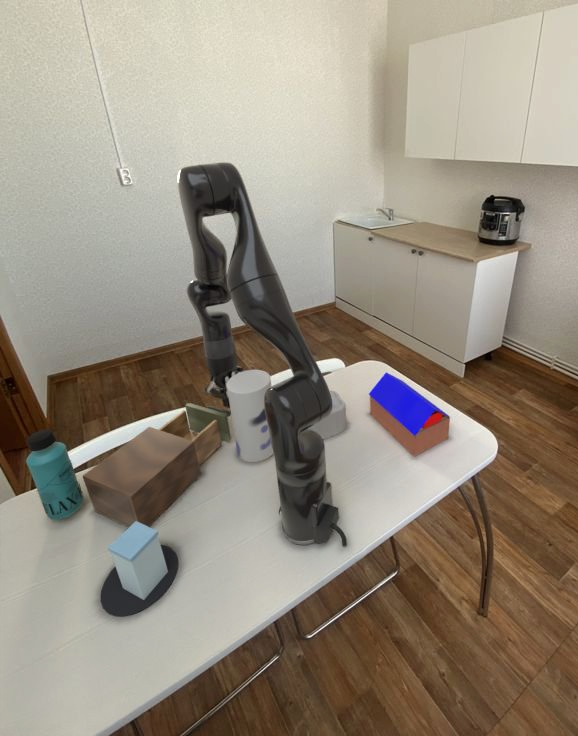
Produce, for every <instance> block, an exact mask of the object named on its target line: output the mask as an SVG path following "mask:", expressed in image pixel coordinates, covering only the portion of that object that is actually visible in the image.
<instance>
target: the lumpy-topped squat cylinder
mask: <svg viewBox="0 0 578 736" xmlns="http://www.w3.org/2000/svg"><path fill="white" fill-rule="evenodd" d="M330 394H331V397H332V404H333V408H332V412H331V414H330V415H329V416H328V417H326V418H325V419H323V420H322V421H320V422H318V423H316V424H315V425H313V426H311V427H310V428H308V429H311V430H314V431H316V432H317V433H318V434H320V435H321V437H322V438H323V440H326V439H329V438H331V437H334V436H337V435H339V434H341V433H343V432H344V431H345V430H346V428H347V410H346V402H345V401H344V400H343V399H342V398H341V397H340V395H339V393H338V392H337V391H335V390H330Z"/></svg>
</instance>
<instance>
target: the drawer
mask: <svg viewBox="0 0 578 736" xmlns="http://www.w3.org/2000/svg"><path fill="white" fill-rule="evenodd" d="M184 406H185V410H182V411H180V412H179V413H178V414H177V415H175V416H174V417H173V418H171V419H170V420H169V421H167V422H166V423H165V424H163V425H162V426H160V427H159V428H157V429H158V430H161V431H164V432H167V433H170V434H173V435H176V436H179V437H182V438H185V439H188V440H191V441H194V444H195V449H196V454H197V458H198V463H199V466H200V465H202V463H204V461H206V460H207V459H208V458H209V457H210V456H211V455H212V454H213V453H214V452H215V451H216V450H217V449H218V448H219V447H220V446H221V445H222V441H223V442H227V443H229V442H230V441H231V440H232V436H231V435H232V434H231V430H230V423H229V418H230V417H231V410H227V409H223V408H220V407H216V406H212V405H208V406H207V407H204V406H201V405H197V404H194V403H191V402H188V403H186V404H185V405H184Z"/></svg>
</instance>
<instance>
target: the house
mask: <svg viewBox="0 0 578 736" xmlns="http://www.w3.org/2000/svg"><path fill="white" fill-rule="evenodd" d="M368 395H369V414H370V416H371V417H372V418H374V419H375V420H376V421H377V422H378V423H379V425H381V426H382V427H383V428H384V430H386V431H387V432H388V433H389V434H390V435H391V436H392V437H393V438H395V441H397V442H398V443H399V444H400V445H402V447H403V448H405V450H407V452H408V453H409V454H411V455H412V456H413V457H416V456H419V455H420V454H423V453H424V452H426V451H428V450H430V449H432V448H434V447H436V446H438V445H440V444H441V443H443V442H445V441H447V440H448V439H449V434H450V420H451V416H450V415H449V414H447V413H446V412H445V411H444V410H442V409H441V408H439V407H438V406H436V404H434V403H433V402H431V401H430V400H429V399H427V398H426V397H424V395H422V394H421V393H419V392H418V391H417V390H415V389H414V388H412V387H411V386H410V385H409V384H407V383H406V382H405V381H404V380H402V379H400V378H398V377H396V376H395V375H392V374H391V373H389V372H385V373H384V374H383V375H382V377H381V378H380V379H379V380H378V381H377V383H376V384H375V385H374V386H373V388H372V389H371V391H370V392H369V393H368Z"/></svg>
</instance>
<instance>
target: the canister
mask: <svg viewBox="0 0 578 736" xmlns="http://www.w3.org/2000/svg"><path fill="white" fill-rule="evenodd" d="M160 544H161V541H160V538H159V530H156V529H154V528H152V527H151V526H150V527H148V526H146V525H143V524H141V523H139V522H137V521H135V522H134V523H133V524H132V525H131V526H130V527H129V528H128V527H127V529H126V530H125V531H124V532H123V533H121V535H120V536H119V537H117V538H116V540H115V541H113V542H112V543H111V544H110V545H109V546H108V547H107V549H108V550H107V551H108V552H109V553H110V555H111V558H112V561H113V564H114V567H116V569H117V572H118V575H119V578H120V581H121V584H122V587H123V589H125V590H127V591H129V592H130V593H132V594H134V595H136V596H137V597H139V598H141V599H143V600H144V599H145V598H146V597H147V596H148V595H149V594H150V592H151V591H152V590H153V589H154V588H155V586H156V585H157V584H158V583H159V582H160V581H161V579H162V578H163V577H164V576H165V575H166V574H167V572H168V570H167V566H166V563H165V559H164V555H163V552H162V548H161V545H162V544H161V545H160Z"/></svg>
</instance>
